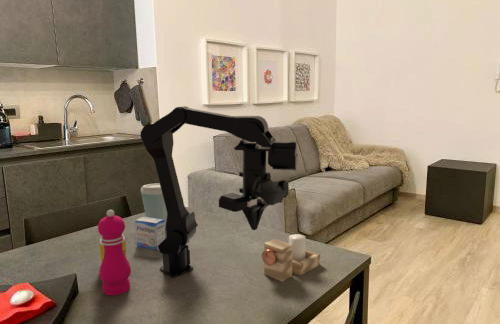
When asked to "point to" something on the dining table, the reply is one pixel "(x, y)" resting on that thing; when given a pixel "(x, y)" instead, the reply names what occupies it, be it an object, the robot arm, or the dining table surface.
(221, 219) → the dining table surface
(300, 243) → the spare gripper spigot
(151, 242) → the medicine box
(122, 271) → the pepper mill
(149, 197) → the disposable coffee cup
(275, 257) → the lock pin
